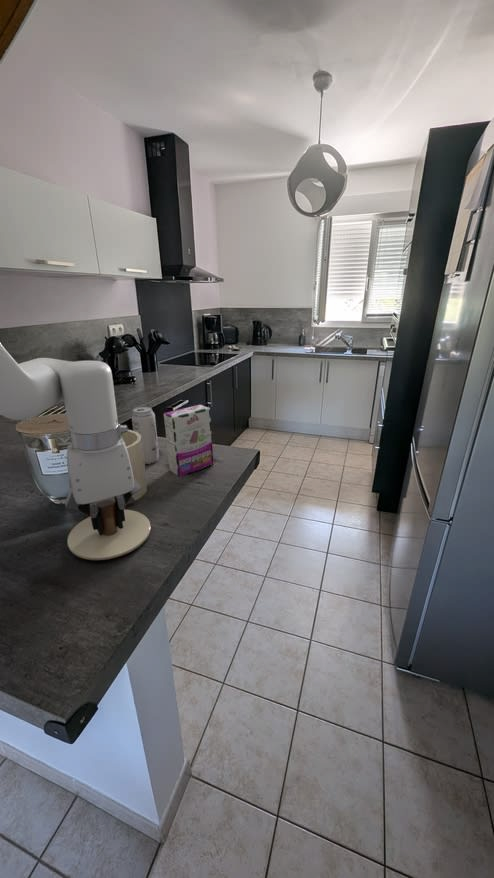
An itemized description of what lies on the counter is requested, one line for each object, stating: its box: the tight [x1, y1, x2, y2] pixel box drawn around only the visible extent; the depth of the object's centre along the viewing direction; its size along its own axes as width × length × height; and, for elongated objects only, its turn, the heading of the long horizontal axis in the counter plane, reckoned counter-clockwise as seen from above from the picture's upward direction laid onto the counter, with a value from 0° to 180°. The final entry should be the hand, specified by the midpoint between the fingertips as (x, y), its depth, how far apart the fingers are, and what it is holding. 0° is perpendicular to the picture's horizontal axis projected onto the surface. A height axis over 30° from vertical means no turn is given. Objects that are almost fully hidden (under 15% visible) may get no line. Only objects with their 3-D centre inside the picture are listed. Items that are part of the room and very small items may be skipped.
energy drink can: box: [131, 406, 160, 465], centre depth 96 cm, size 6×6×15 cm
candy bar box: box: [163, 404, 214, 477], centre depth 92 cm, size 11×5×16 cm, turn 131°
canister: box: [97, 429, 148, 503], centre depth 81 cm, size 14×14×14 cm
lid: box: [66, 500, 151, 561], centre depth 66 cm, size 15×15×7 cm
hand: (109, 527), depth 66 cm, fingers closed on lid, 2 cm apart
